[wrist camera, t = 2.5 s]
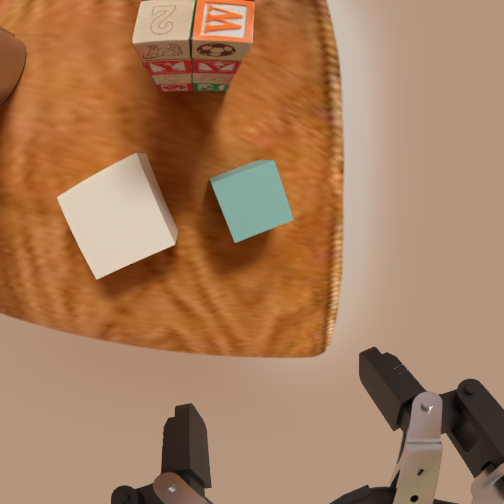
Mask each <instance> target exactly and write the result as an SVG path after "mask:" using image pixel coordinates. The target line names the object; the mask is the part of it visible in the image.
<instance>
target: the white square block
mask: <svg viewBox="0 0 504 504" xmlns="http://www.w3.org/2000/svg"><path fill="white" fill-rule="evenodd" d="M57 199H58V201H59V204H60V206H61V208H62V211H63V213H64V215H65V218H66V220H67V222H68V224H69V227H70V229H71V231H72V233H73V235H74V237H75V239H76V241H77V243H78V246H79V248H80V250H81V252H82V253H83V255H84V257H85V259H86V261H87V263H88V265H89V267H90V269H91V271H92V272H93V274H94V276H95V278H96V280H97V279H99V278H101V277H103V276H106V275H108V274H110V273H112V272H114V271H116V270H119V269H121V268H123V267H125V266H128V265H130V264H132V263H134V262H137V261H139V260H141V259H143V258H146V257H148V256H150V255H152V254H155V253H157V252H159V251H162V250H164V249H166V248H169V247H171V246H173V245H175V244H176V240H177V236H178V232H179V231H178V229H177V227H176V225H175V222H174V220H173V218H172V216H171V213H170V211H169V209H168V206H167V204H166V202H165V199H164V197H163V195H162V192H161V190H160V187H159V185H158V182H157V180H156V178H155V175H154V173H153V170H152V168H151V165H150V163H149V160H148V157H147V155H146V153H135V154H133V155H131V156H129V157H127V158H125V159H123V160H121V161H119V162H117V163H115V164H113V165H111V166H109V167H107V168H105V169H104V170H102V171H100V172H98V173H96V174H95V175H93V176H91V177H89V178H88V179H86V180H84V181H83V182H81V183H79V184H78V185H76V186H74V187H73V188H71V189H69V190H68V191H66V192H65V193H63V194H61V195H60V196H58V197H57Z"/></svg>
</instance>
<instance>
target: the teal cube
mask: <svg viewBox="0 0 504 504" xmlns="http://www.w3.org/2000/svg"><path fill="white" fill-rule="evenodd" d="M210 182H211V184H212V187H213V190H214V192H215V195H216V197H217V200H218V202H219V205H220V207H221V210H222V213H223V215H224V218H225V220H226V223H227V225H228V228H229V230H230V233H231V235H232V237H233V240H234V242H235V243H237V242H239V241H242V240H244V239H247V238H249V237H252V236H254V235H257V234H259V233H262V232H264V231H267V230H269V229H272V228H274V227H277V226H279V225H282V224H284V223H287V222H290V221H292V220H293V217H292V214H291V210H290V207H289V204H288V201H287V198H286V195H285V192H284V189H283V186H282V182H281V179H280V176H279V173H278V170H277V168H276V165H275V162H274V160H258V161H255V162H252V163H249V164H247V165H244V166H241V167H238V168H236V169H233V170H230V171H228V172H225V173H222V174H220V175H217V176H215V177H212V178H210Z"/></svg>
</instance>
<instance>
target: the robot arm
mask: <svg viewBox="0 0 504 504" xmlns="http://www.w3.org/2000/svg"><path fill="white" fill-rule="evenodd" d="M25 57H26V51H25V46H24V44H23V43H22V42H21V41H20V40H18V39H16V38H14V34H13V33H11V32H9V31H7V30H6V29H4V28H2V27H0V105H1V104H2V103H3V102H4V101H5V100H6V99H7V98H8V96H9V95H10V94H11V92H12V91H13V89H14V87H15V86H16V84H17V82H18V80H19V78H20V76H21V73H22V70H23V67H24V63H25ZM359 376H360V380H361V382H362V384H363V386H364V387H365V389H366V390H367V392H368V393H369V395H370V396H371V398H372V399H373V401H374V402H375V404H376V405H377V407H378V408H379V410H380V411H381V413H382V415H383V416H384V418H385V419H386V421H387V422H388V423H389V425H390V426H391V428H392V430H393V431H395V430H397V429H398V428H401V430H402V431H403V434H402V439H401V444H400V449H399V453H398V458H397V462H396V466H395V469H394V472H393V475H392V478H391V481H390V484H389V487H374V488H369V486H368V485H366V486H364V487H361V488H359V489H357V490H354V491H352V492H350V493H347V494H344V495H343V496H341V497H340V498H338V499H337V500H335V501H333V502H332V503H330V504H457V503H451V502H446V501H442V500H437V499H434V495H435V491H436V486H437V481H438V475H439V470H440V463H441V456H442V443H441V442H440V435H441V434H444V433H446V434H447V435H448V437H449V438H450V440H451V441H452V443H453V444H454V446H455V447H456V449H457V451H458V452H459V454H460V455H461V457H462V459H463V460H464V461H465V463H466V465H467V467H468V468H469V470H470V471H471V473H472V475H473V476H474V478H475V479H474V480H473V482H472V485H471V493H472V496H473V500H472V504H504V410H503V409H502V407H501V406H500V405H499V404H498V402H497V401H496V400H495V399H494V398H493V397H492V396H491V394H490V393H489V392H488V391H487V390H486V389H485V387H484V386H483V385H482V384H481V383H480V382H479V381H477V380H475V379H466V380H464V381H462V382H461V383H460V384H459V386H458V388H457V390H454V391H451V392H447V393H444V394H439V395H438V394H436V393H433V392H427V391H426V390H425V389H424V388H423V387H422V386H421V385H420V384H419V382H418V381H417V380H416V379H415V378H414V377H413V375H412V374H411V373H410V372H409V371H407V368H405V366H404V365H402V363H401V362H400V361H399V359H398V358H397V357H396V356H394V355H392V354H389V353H387V352H386V353H384V354H381V353H380V352H379V351H378V349H377V348H376V347H372V348H370V349H368V350H365V351H363V352H361V353H360V354H359ZM163 436H164V438H163V447H162V467H161V474H160V475H159V476H158V477H157V478H156V479H155V480H154V483H152V484H150V485H147V486H144V487H141V488H137V489H133V488H132V487H129V486H125V485H124V486H120V487H118V488H116V489H115V490H114V491H113V493H112V496H111V504H213V503H212V502H211V501H210V500H209V499H208V498H207V497H205V492H204V488H211V477H210V466H209V454H208V441H207V430H206V426H205V423H204V421H203V419H202V418H201V416H200V415H199V413H198V412H197V410H196V409H195V407H194V406H193V405H192V404H191V403H190V404H185V405H179V406H176V407H175V417H172V418H168V420H167V422H166V424H165V426H164V432H163Z"/></svg>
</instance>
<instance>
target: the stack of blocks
mask: <svg viewBox="0 0 504 504" xmlns="http://www.w3.org/2000/svg"><path fill="white" fill-rule="evenodd" d="M254 1H255V0H143V2H141V4H140V7H139V11H138V15H137V19H136V23H135V28H134V33H133V38H132V45H133V47H134V49H135V50H136V51H137V53H138V55H139V56H140V58H141V59H142V63H143V65H144V67H145V69H146V70H147V72H148V73H149V75H151V77H152V78H153V80H154V82H155V84H156V86H157V88H158V89H159V91H160V92H187V91H188V92H191V91H214V92H226V91H227V89H228V88H229V86H230V84H231V80H232V78H233V76H234V74H235V73H237V71H238V68H239V67H240V65H241V63H242V59H243V58H244V56H245V55H246V53H247V51H248V50H249V48H250V46H251V45H252V42H253V22H254V5H255V4H254Z"/></svg>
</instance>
